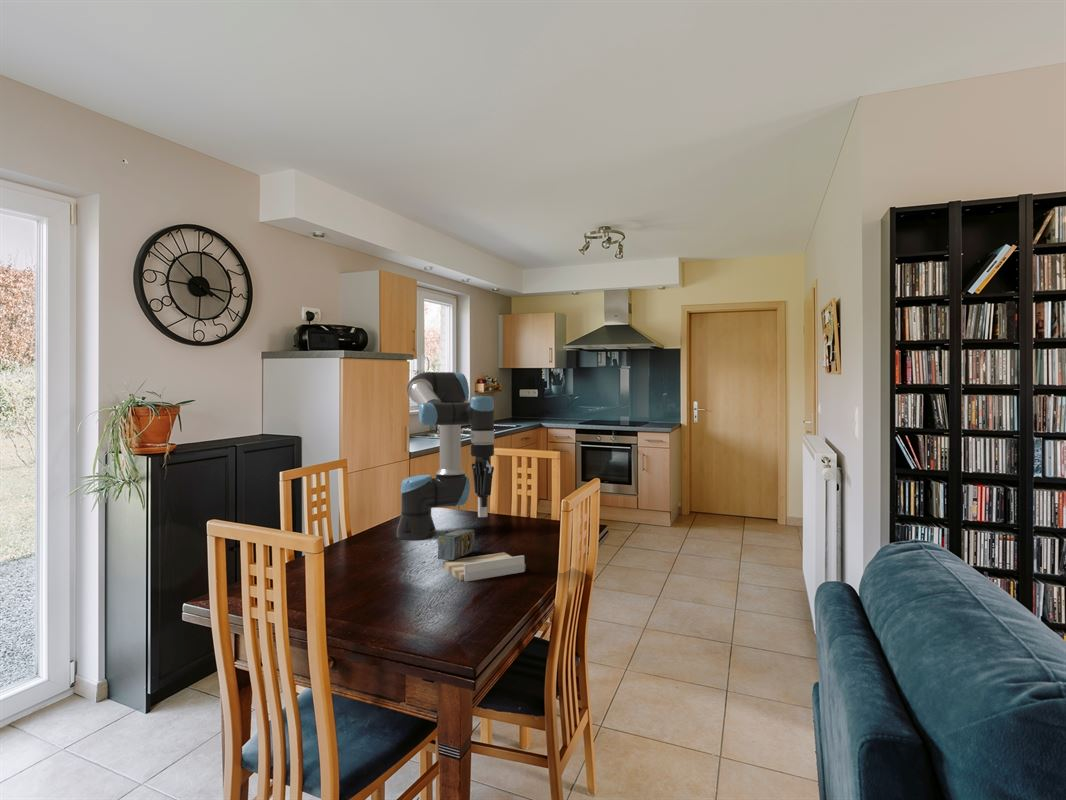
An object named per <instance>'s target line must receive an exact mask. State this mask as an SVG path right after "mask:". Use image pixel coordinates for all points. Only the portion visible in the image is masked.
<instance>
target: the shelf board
mask: <svg viewBox="0 0 1066 800" xmlns="http://www.w3.org/2000/svg"><path fill="white" fill-rule="evenodd" d="M508 557H513V556H512V555H510V554H509V553H506V552H497V553H491V554H483V555H482V554H481V555H478V556H470V557H469V556H468V557H463V558H457V559H454V560H443V561H442V565H443V566H442V568H444V569H445V570H446V571H447V572H449V574H451V575H452V576H453V577H454V578H455V579H457V580H458V581H460V582H463V581H464V564H468V563H475V562H481V561H488V560H495V559H501V558H508ZM526 566H527V565H526V563H524V572H525V571H526V570H527V568H526ZM464 582H465V581H464Z"/></svg>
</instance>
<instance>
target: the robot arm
mask: <svg viewBox="0 0 1066 800" xmlns="http://www.w3.org/2000/svg"><path fill="white" fill-rule="evenodd" d="M469 389H470V387H469V383H468V379H467V378H466V374H465V375H464V374H463V373H461V372H455V371H454V372H453V371H452V372H450V371H449V372H446V371H445V372H444V371H440V372H437V371H435V372H434V371H426V372H424V371H423V372H422V373H419V374H417V375H415V376H414V377H412V378H411V379H410V380H409V382H408V384H407V389H406V390H407V391H406V392H407V395H408V397H409V398H410V400H411V401H413V402H414V403H416V404H417V406H418V419H419V423H420V424H421V425H422V426H430V427H432V426H433V427H434V426H439V470H438V471H436V473H435V477H432V475H430V474H419V475H414V476H409V477H406V478H404V479H403V480H402V481H401V483H400V484H401V485H400V494H401V495H400V499H401V501H400V508H401V509H400V518H399V521H398V522H399V523H398V526H397V529H396V538H397V539H400V540H406V541H418V540H425V539H426V540H427V539H430V538H433V537H434V536H436V534H437V531H436V529H437V528H436V526H435V523H434V519H433V516H432V509H436V508H447V507H449V508H450V507H454V508H456V507H458V506H459V507H461V506H464V505H465V504H466V503H467V501H468V499H469V496H470V490H471V489H470V487H471V485H470V484H471V483H470V478H469V477H468V476H466V471H464V470H463V469H462V428H461V427H462V426H465V425H466V426H468V425H470V433H469V436H470V443H471V445H470V455H471V457H475V458H474V463H472V464H471V469H472V473H473V474H472V475H473V486H474V487H473V489H474V493H475V494H476V496H477V517H478V518H488V497H489V496H491V495H492V483H493V475H494V474H493V473H494V471H495V470H494V469H495V468H494V466H491V459H490V457H493V456H495V445H494V444H493V443H495V403H494V400H495V399H494V398H493V396H489V395H488V396H487V395H485V396H484V395H483V396H480V395H479V396H477V395H475V396H472V397H471V398H470V402H467V401H468V400H469V397H470V390H469Z"/></svg>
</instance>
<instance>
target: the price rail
mask: <svg viewBox="0 0 1066 800" xmlns="http://www.w3.org/2000/svg"><path fill="white" fill-rule="evenodd" d="M524 564H525V555H516V556H515V555H514V556H512V557H508V558H501V559H495V560H488V561H481V562H475V563H468V564H464V583H465V582H470V581H478V580H484V579H489V578H495V577H502V576H506V575H507V576H508V575H513V574H519V573H524V572H525V571H524Z"/></svg>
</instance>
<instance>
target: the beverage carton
mask: <svg viewBox="0 0 1066 800" xmlns="http://www.w3.org/2000/svg"><path fill="white" fill-rule="evenodd" d="M475 532H476V531H475V529H466V528H465V529H464V528H461V529H456V530H453V531H451V532H447V533H444V534H442V535H439V536H438V539H437V545H438V546H437V560H443V561H448V560H455V559H460V558H461V557H464V556H466V555H469V554H470V553H472V552H474V551H475V537H476V536H475V534H476V533H475Z"/></svg>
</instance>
